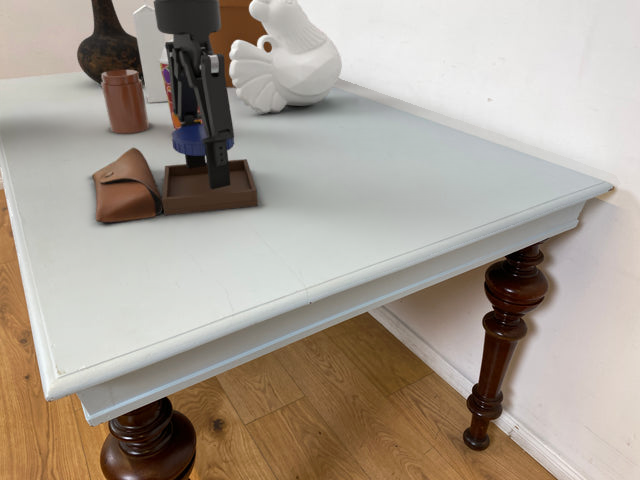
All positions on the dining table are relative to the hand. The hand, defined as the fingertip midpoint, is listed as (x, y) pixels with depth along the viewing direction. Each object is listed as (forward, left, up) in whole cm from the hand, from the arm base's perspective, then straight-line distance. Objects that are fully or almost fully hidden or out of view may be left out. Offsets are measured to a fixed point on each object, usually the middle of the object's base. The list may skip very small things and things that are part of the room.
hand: (207, 175), depth 68 cm
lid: (0, 0, +6) cm, 6 cm away
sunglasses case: (-12, +2, -3) cm, 12 cm away
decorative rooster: (+19, +44, -3) cm, 48 cm away
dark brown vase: (-21, +80, -3) cm, 83 cm away
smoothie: (-2, +29, -3) cm, 29 cm away
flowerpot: (+13, +75, -3) cm, 76 cm away
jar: (-14, +35, -3) cm, 38 cm away
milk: (-9, +58, -3) cm, 59 cm away
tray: (0, 0, -3) cm, 3 cm away
